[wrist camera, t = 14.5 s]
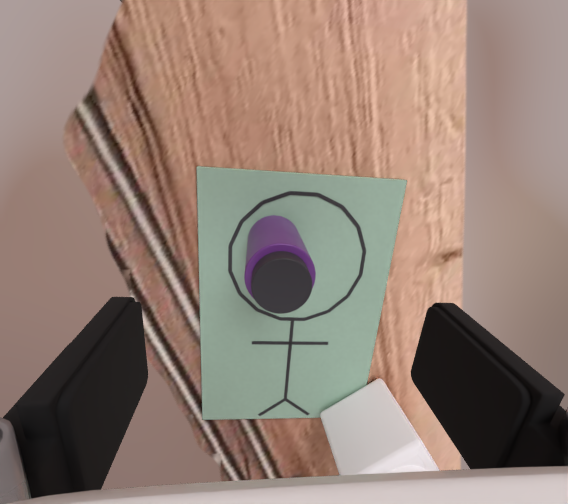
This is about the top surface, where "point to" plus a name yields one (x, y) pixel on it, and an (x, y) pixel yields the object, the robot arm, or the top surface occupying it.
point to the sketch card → (318, 308)
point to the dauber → (278, 265)
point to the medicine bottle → (374, 434)
